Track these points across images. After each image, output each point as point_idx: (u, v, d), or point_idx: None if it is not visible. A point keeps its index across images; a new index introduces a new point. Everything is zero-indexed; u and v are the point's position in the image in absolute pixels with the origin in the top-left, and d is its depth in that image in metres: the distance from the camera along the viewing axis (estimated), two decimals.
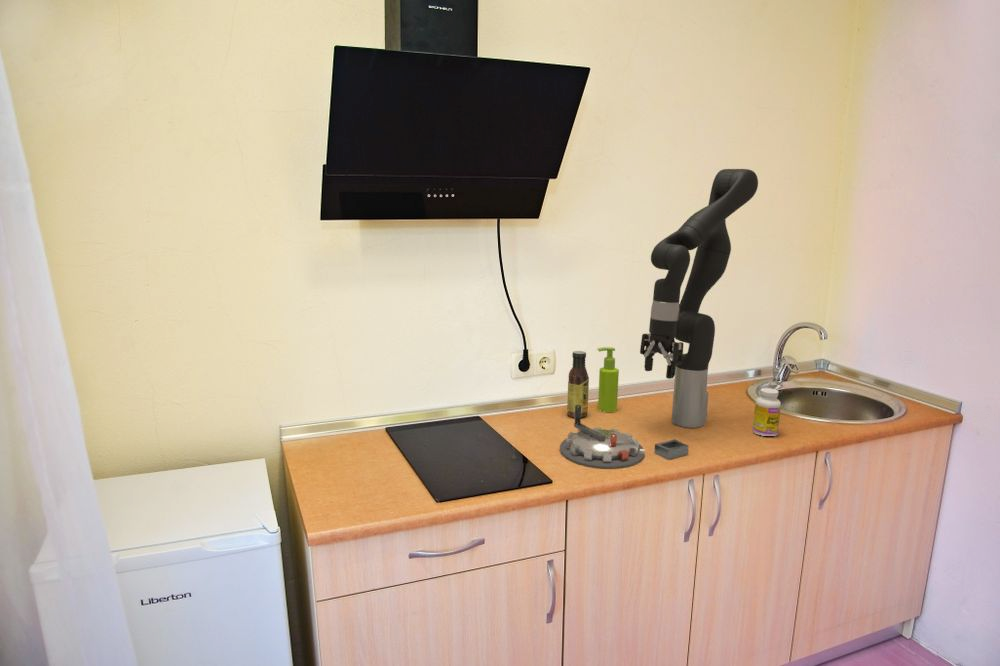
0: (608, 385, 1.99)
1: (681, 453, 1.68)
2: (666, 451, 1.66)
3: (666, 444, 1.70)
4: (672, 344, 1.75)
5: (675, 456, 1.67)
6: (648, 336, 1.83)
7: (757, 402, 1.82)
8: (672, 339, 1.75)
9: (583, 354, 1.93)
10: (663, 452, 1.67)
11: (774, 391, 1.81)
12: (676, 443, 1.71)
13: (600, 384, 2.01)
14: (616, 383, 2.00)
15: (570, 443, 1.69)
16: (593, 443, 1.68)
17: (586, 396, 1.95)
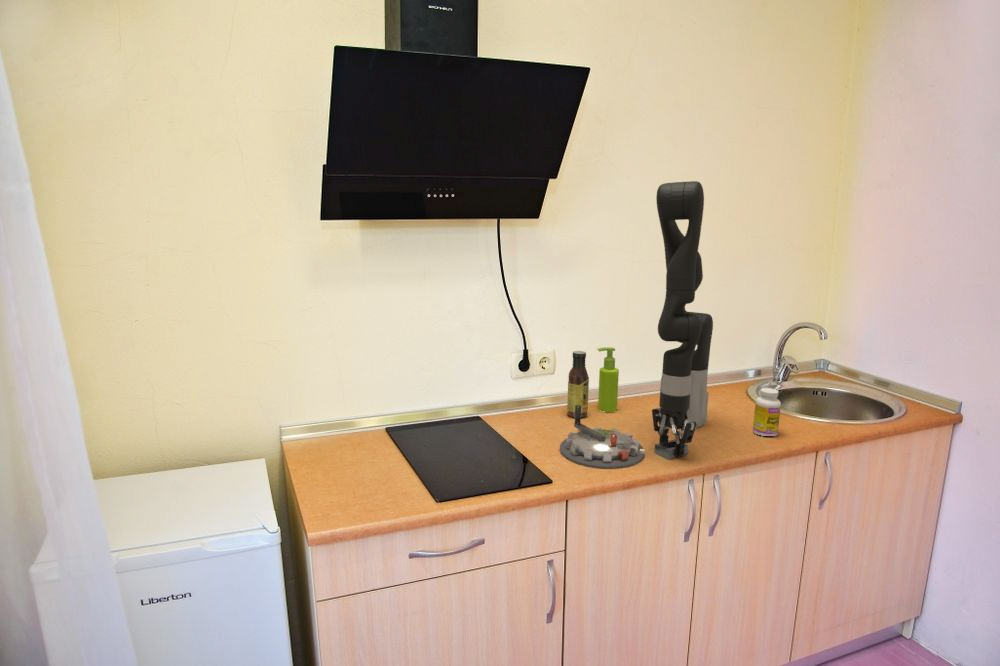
0: (608, 385, 1.99)
1: None
2: (666, 451, 1.66)
3: (666, 444, 1.70)
4: (684, 422, 1.63)
5: (675, 456, 1.67)
6: (658, 410, 1.71)
7: (757, 402, 1.82)
8: (684, 414, 1.64)
9: (583, 354, 1.93)
10: (663, 452, 1.67)
11: (774, 391, 1.81)
12: None
13: (600, 384, 2.01)
14: (616, 383, 2.00)
15: (570, 443, 1.69)
16: (593, 443, 1.68)
17: (586, 396, 1.95)
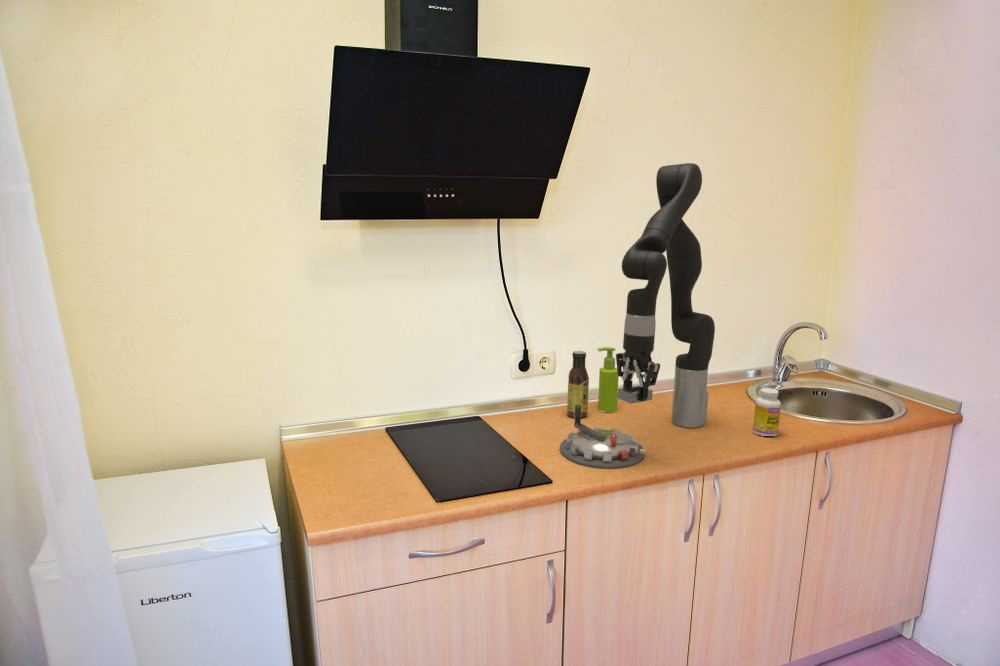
0: (608, 385, 1.99)
1: None
2: (629, 395, 1.60)
3: (629, 389, 1.64)
4: (648, 363, 1.58)
5: (638, 400, 1.61)
6: (622, 354, 1.66)
7: (757, 402, 1.82)
8: (648, 356, 1.58)
9: (583, 354, 1.93)
10: (626, 396, 1.61)
11: (774, 391, 1.81)
12: None
13: (600, 384, 2.01)
14: (616, 383, 2.00)
15: (570, 443, 1.69)
16: (593, 443, 1.68)
17: (586, 396, 1.95)
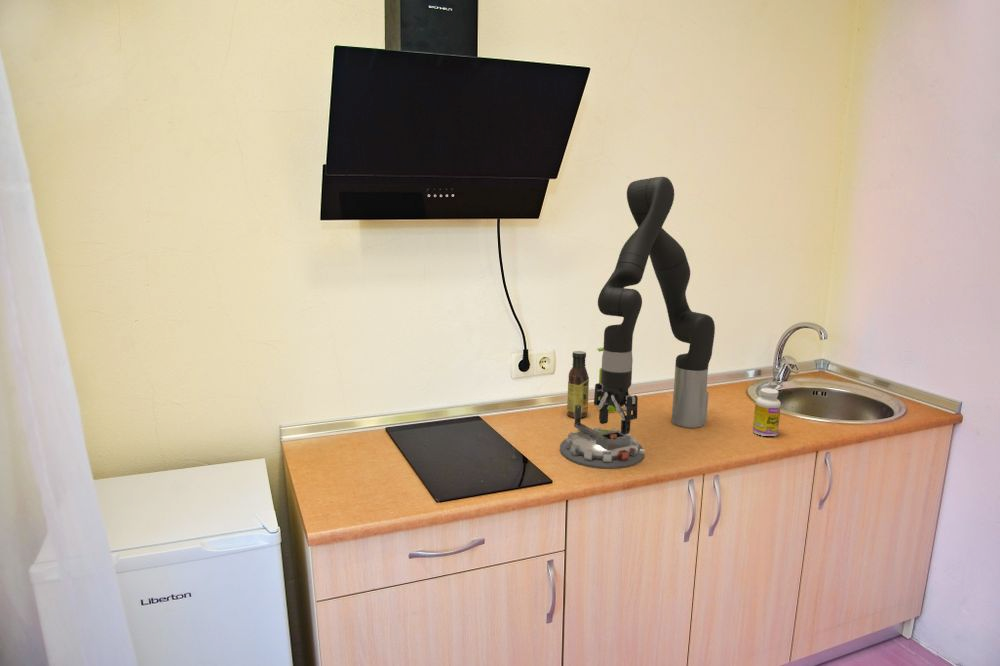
0: None
1: (622, 444, 1.65)
2: (606, 442, 1.64)
3: (607, 435, 1.68)
4: (625, 397, 1.59)
5: (615, 447, 1.64)
6: (601, 386, 1.67)
7: (757, 402, 1.82)
8: (625, 392, 1.60)
9: (583, 354, 1.93)
10: (603, 443, 1.65)
11: (774, 391, 1.81)
12: (618, 434, 1.69)
13: None
14: None
15: (570, 443, 1.69)
16: (593, 443, 1.68)
17: (586, 396, 1.95)
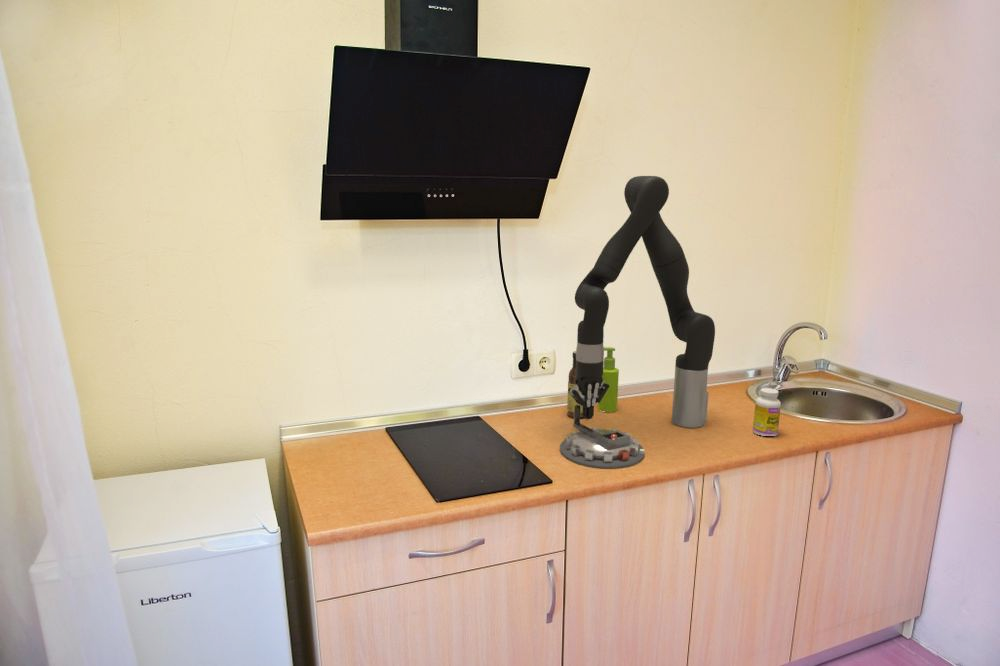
0: None
1: (622, 444, 1.65)
2: (606, 442, 1.64)
3: (608, 435, 1.68)
4: None
5: (616, 447, 1.65)
6: None
7: (757, 402, 1.82)
8: (578, 379, 1.76)
9: None
10: (604, 443, 1.65)
11: (774, 391, 1.81)
12: (618, 434, 1.69)
13: None
14: (616, 383, 2.00)
15: (570, 443, 1.69)
16: (593, 443, 1.68)
17: None
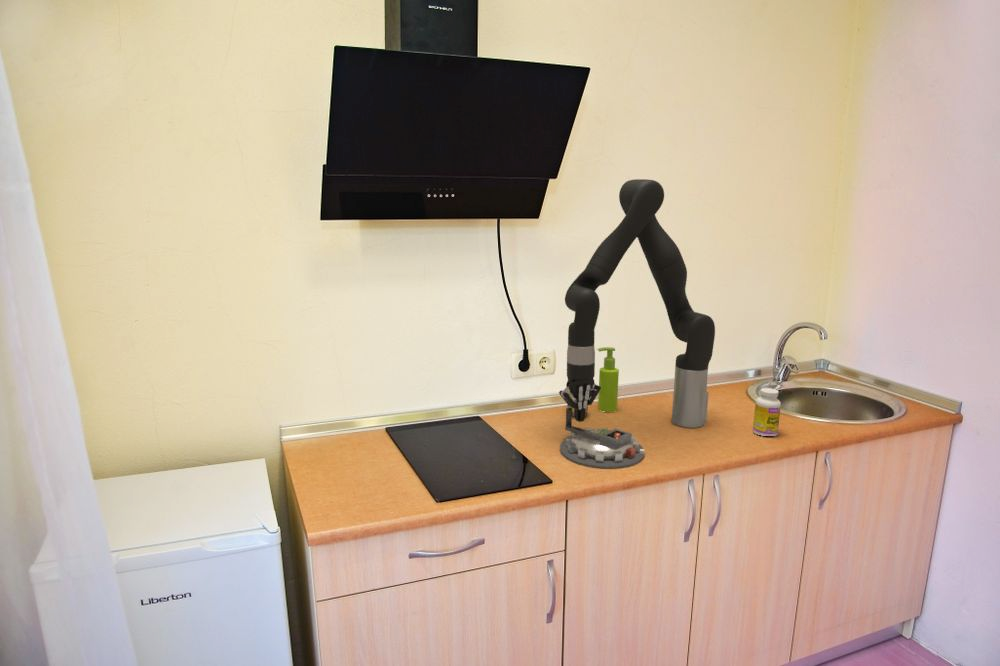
0: (608, 385, 1.99)
1: (626, 442, 1.67)
2: (614, 441, 1.64)
3: (609, 434, 1.68)
4: None
5: (621, 445, 1.66)
6: None
7: (757, 402, 1.82)
8: (569, 381, 1.74)
9: None
10: (610, 443, 1.65)
11: (774, 391, 1.81)
12: (618, 432, 1.70)
13: (600, 384, 2.01)
14: (616, 383, 2.00)
15: (574, 447, 1.67)
16: (597, 444, 1.67)
17: None
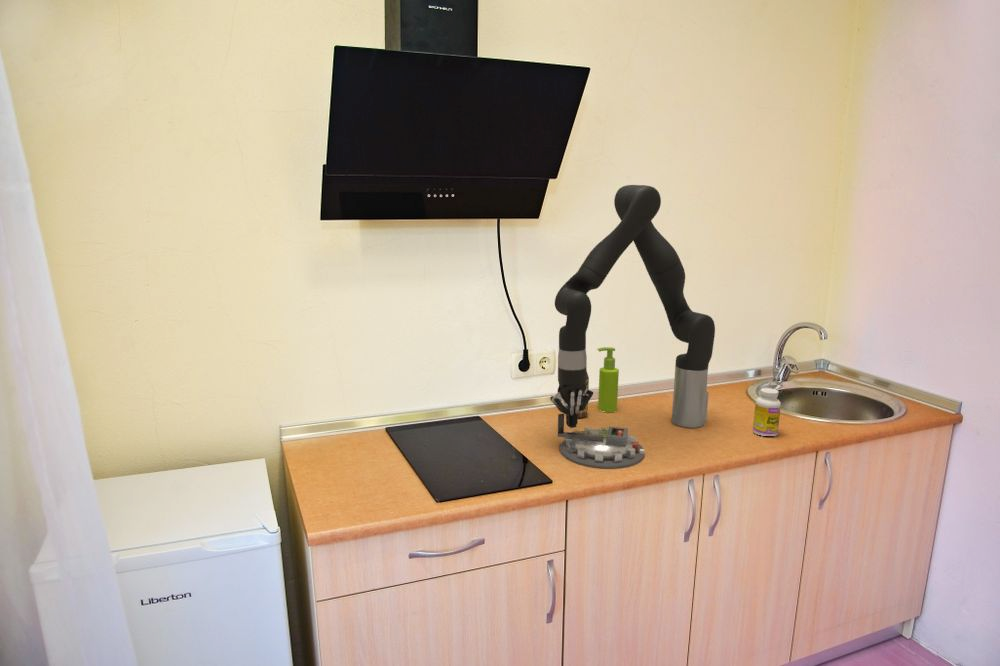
0: (608, 385, 1.99)
1: None
2: (623, 439, 1.66)
3: (611, 433, 1.69)
4: None
5: (626, 441, 1.68)
6: None
7: (757, 402, 1.82)
8: (560, 387, 1.70)
9: None
10: (619, 441, 1.66)
11: (774, 391, 1.81)
12: (615, 429, 1.72)
13: (600, 384, 2.01)
14: (616, 383, 2.00)
15: (586, 452, 1.64)
16: (604, 445, 1.67)
17: None
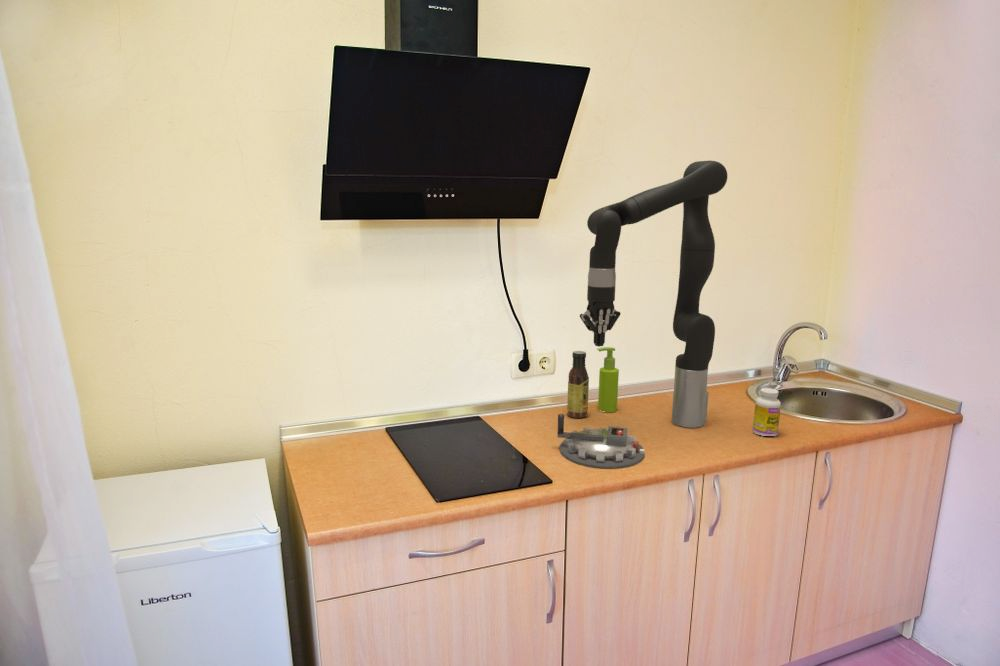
0: (608, 385, 1.99)
1: None
2: (623, 439, 1.66)
3: (611, 433, 1.69)
4: None
5: (626, 441, 1.68)
6: None
7: (757, 402, 1.82)
8: (590, 304, 1.76)
9: (583, 354, 1.93)
10: (619, 441, 1.66)
11: (774, 391, 1.81)
12: (614, 429, 1.72)
13: (600, 384, 2.01)
14: (616, 383, 2.00)
15: (587, 452, 1.63)
16: (605, 445, 1.67)
17: (586, 396, 1.95)
